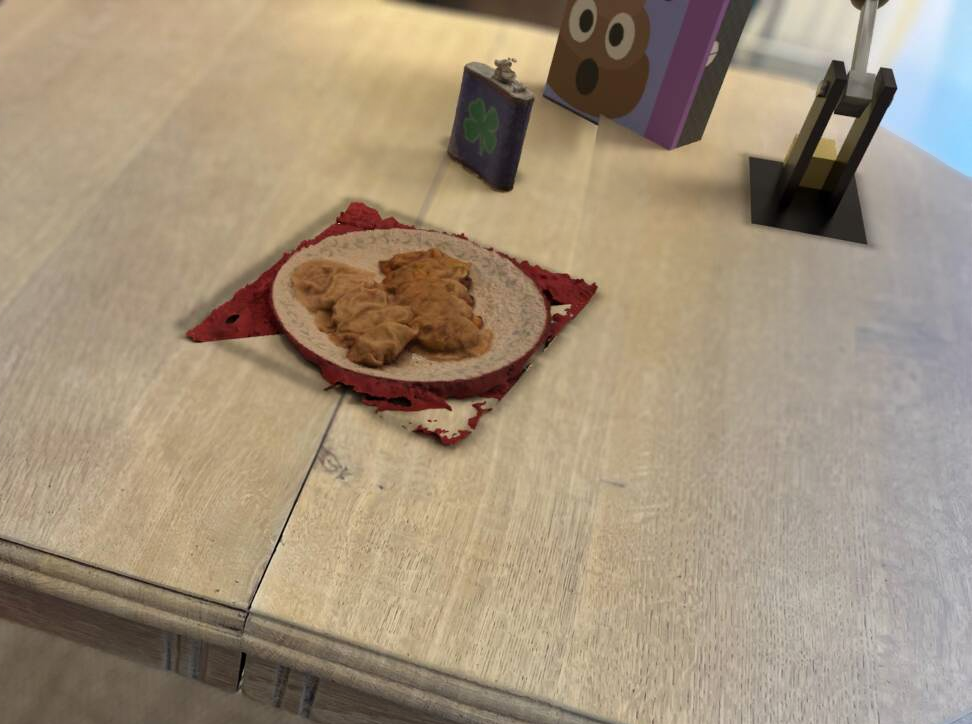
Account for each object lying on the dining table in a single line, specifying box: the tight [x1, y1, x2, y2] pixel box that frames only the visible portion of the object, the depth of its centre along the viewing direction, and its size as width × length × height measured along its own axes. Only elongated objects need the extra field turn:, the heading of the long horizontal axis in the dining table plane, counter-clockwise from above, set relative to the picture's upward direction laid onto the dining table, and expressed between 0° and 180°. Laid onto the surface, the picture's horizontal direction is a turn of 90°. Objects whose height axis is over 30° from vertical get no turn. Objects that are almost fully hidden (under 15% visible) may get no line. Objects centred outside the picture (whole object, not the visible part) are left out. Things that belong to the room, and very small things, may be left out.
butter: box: [782, 133, 838, 190], centre depth 102 cm, size 5×4×3 cm
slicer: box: [748, 59, 898, 246], centre depth 96 cm, size 14×10×13 cm
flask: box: [446, 57, 535, 194], centre depth 100 cm, size 9×3×11 cm, turn 28°
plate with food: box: [184, 201, 599, 446], centre depth 85 cm, size 24×26×3 cm
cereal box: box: [542, 0, 755, 151], centre depth 104 cm, size 17×5×24 cm, turn 33°
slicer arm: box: [833, 0, 890, 118], centre depth 94 cm, size 15×4×4 cm, turn 162°
